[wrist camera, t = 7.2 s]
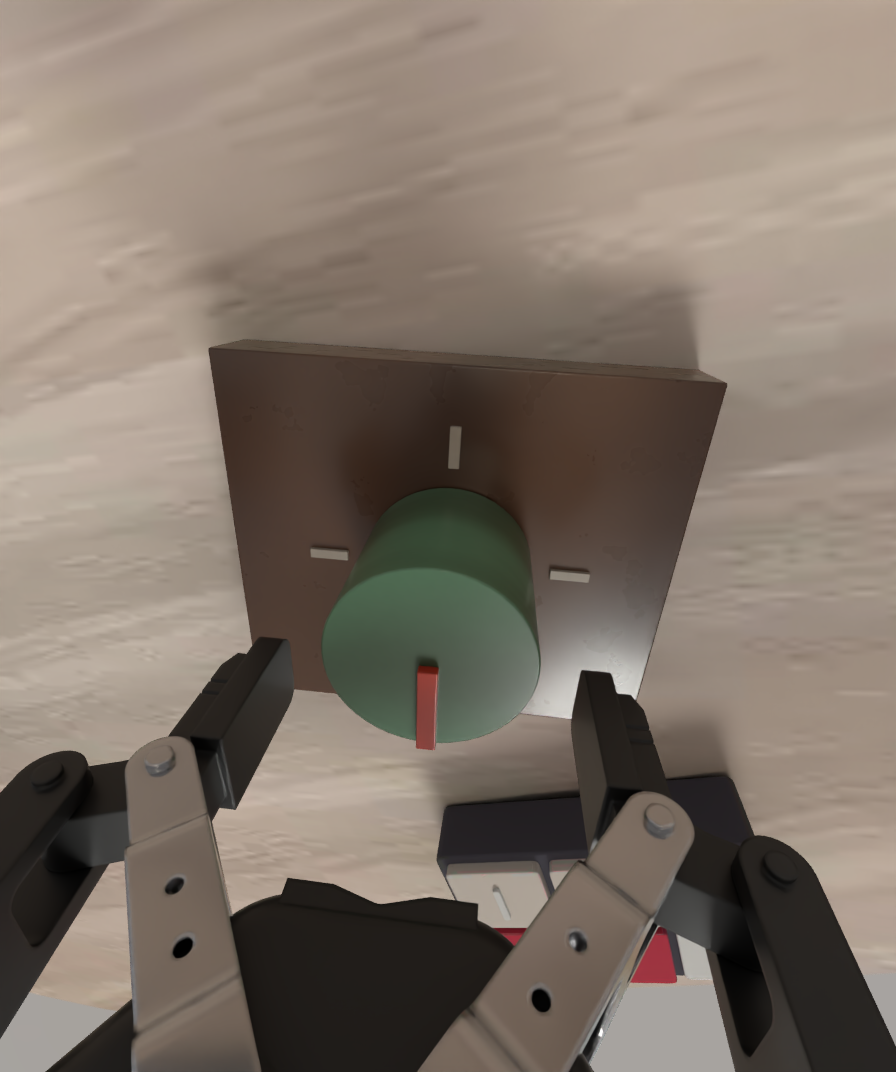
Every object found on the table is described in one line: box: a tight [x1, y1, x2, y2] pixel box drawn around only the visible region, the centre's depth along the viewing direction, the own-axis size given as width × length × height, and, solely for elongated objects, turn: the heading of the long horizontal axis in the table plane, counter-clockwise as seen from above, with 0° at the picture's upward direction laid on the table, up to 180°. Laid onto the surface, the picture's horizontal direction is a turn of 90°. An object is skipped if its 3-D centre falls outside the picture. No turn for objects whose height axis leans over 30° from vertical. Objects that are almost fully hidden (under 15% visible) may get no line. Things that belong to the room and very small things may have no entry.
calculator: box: [437, 776, 755, 983], centre depth 28 cm, size 11×4×15 cm
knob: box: [321, 488, 541, 750], centre depth 16 cm, size 6×6×6 cm
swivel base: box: [209, 340, 727, 719], centre depth 20 cm, size 16×14×3 cm
